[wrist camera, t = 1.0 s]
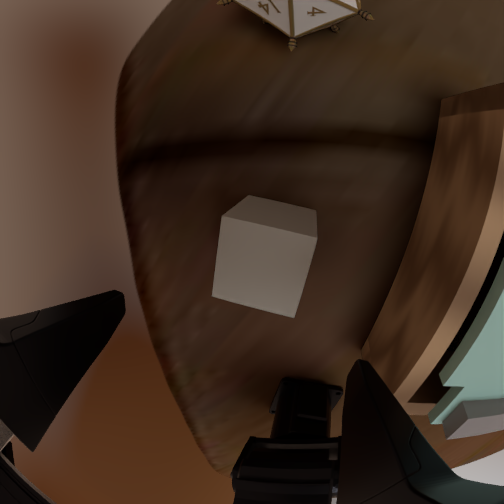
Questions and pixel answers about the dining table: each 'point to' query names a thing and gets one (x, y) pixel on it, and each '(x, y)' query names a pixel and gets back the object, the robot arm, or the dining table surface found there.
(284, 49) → the dining table surface
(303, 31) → the game die
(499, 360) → the trapdoor
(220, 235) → the grey block
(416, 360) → the box frame
